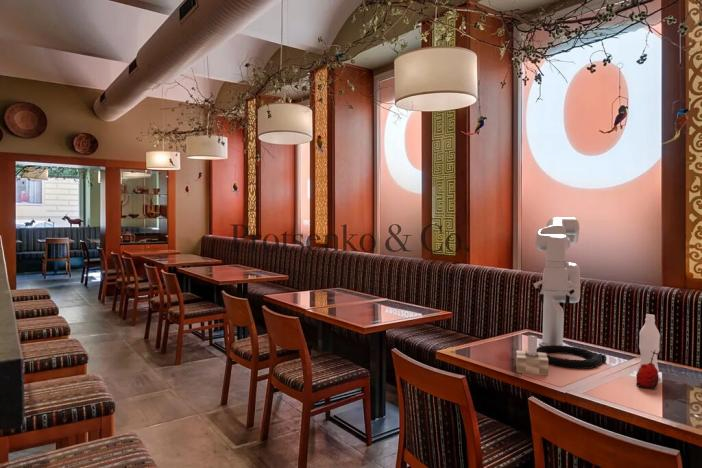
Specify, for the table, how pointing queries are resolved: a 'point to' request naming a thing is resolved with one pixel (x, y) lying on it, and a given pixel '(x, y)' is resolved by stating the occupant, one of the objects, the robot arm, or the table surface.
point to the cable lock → (591, 362)
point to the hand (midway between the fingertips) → (554, 303)
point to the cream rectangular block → (532, 363)
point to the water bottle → (649, 341)
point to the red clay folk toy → (647, 375)
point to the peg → (532, 346)
